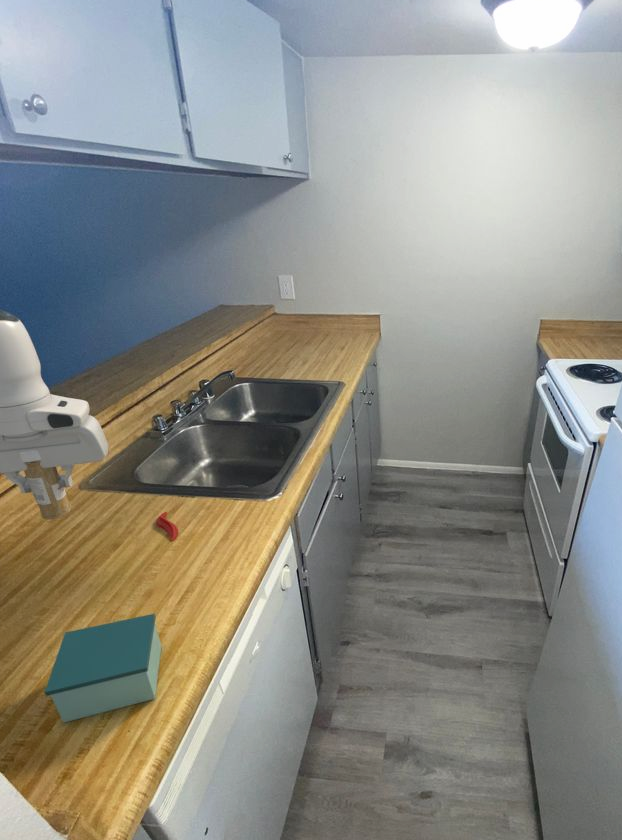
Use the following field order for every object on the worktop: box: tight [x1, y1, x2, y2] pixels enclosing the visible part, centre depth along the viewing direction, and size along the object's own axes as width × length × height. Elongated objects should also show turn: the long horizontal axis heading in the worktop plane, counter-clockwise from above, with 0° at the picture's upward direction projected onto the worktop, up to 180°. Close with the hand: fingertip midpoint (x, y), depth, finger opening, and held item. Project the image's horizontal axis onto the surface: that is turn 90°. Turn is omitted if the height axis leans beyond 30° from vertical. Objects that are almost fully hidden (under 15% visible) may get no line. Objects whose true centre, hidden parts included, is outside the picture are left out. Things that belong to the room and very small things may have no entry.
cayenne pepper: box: [155, 511, 179, 542], centre depth 108 cm, size 12×5×2 cm, turn 24°
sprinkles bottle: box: [19, 450, 73, 521], centre depth 79 cm, size 5×5×13 cm
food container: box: [44, 613, 162, 723], centre depth 72 cm, size 13×11×7 cm
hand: (48, 488), depth 80 cm, fingers closed on sprinkles bottle, 4 cm apart
